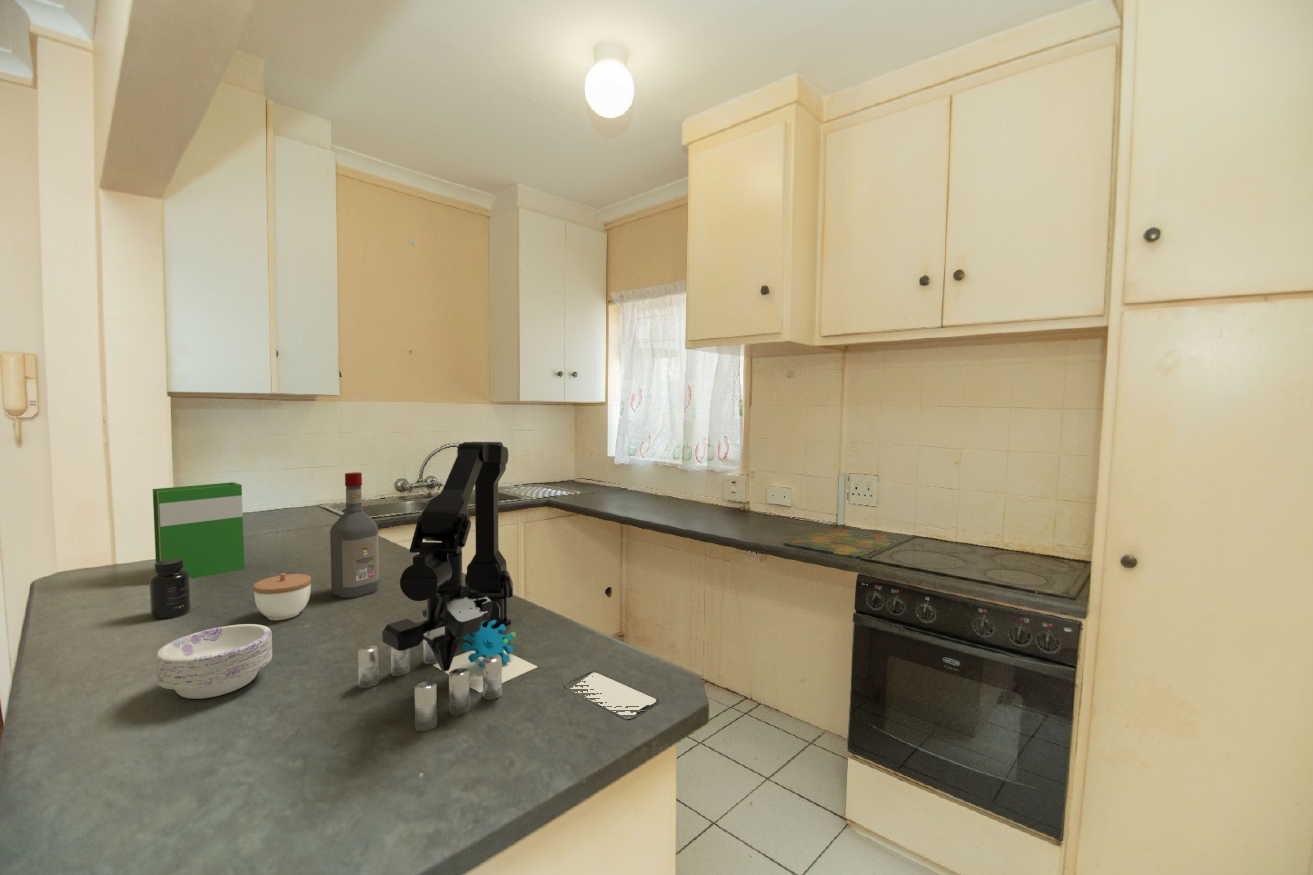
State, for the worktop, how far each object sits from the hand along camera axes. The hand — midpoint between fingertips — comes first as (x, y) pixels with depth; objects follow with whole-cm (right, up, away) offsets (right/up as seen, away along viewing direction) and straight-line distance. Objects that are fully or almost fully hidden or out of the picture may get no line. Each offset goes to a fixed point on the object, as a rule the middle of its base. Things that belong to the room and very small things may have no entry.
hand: (445, 670), depth 96 cm
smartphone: (+28, -3, -3) cm, 29 cm away
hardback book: (-89, +2, +59) cm, 107 cm away
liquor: (-39, +1, +45) cm, 60 cm away
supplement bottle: (-72, 0, +29) cm, 78 cm away
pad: (+5, -2, +6) cm, 8 cm away
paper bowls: (-38, -2, -2) cm, 38 cm away
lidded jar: (-47, 0, +29) cm, 56 cm away
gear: (+5, -2, +8) cm, 10 cm away
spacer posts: (-2, -2, -2) cm, 4 cm away
